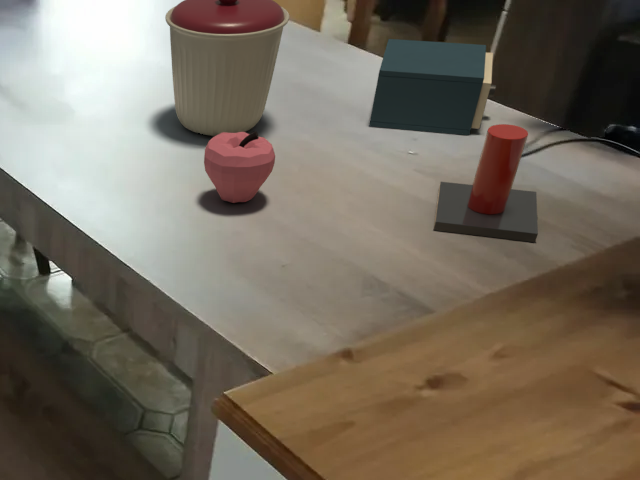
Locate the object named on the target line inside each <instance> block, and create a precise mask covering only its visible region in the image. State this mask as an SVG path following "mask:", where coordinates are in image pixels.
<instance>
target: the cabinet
mask: <svg viewBox="0 0 640 480" xmlns="http://www.w3.org/2000/svg"><path fill="white" fill-rule="evenodd" d="M486 52H487V44H476V43H475V44H474V43H462V42H461V43H459V42H447V41H446V42H442V41H428V40H413V39H412V40H411V39H397V38H396V39H395V38H394V39H393V38H388V40H387V43H386V47H385V50H384V54H383V57H382V61H381V63H380V67H379V71H378V75H377V81H376V88H375V91H374V92H375V93H374V97H373V103H372V108H371V112H370V119H369V124H368V127H372V128H373V127H375V128H384V129H394V130H395V129H396V130H404V131H405V130H406V131H415V132H427V133H428V132H429V133H439V134H449V135H450V134H451V135H459V136H470V133H471V129H472V128H471V126H472V122H473V119H474V115H475V111H476V107H477V103H478V100H479V96H480V92H481V88H482V84H483V81H484V73H485V57H486Z"/></svg>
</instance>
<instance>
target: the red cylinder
mask: <svg viewBox="0 0 640 480" xmlns="http://www.w3.org/2000/svg"><path fill="white" fill-rule="evenodd" d="M528 136H529V132H528V130H526V128H524V127H521V126H519V125H515V124H509V123H508V124H507V123H506V124H505V123H499V124H494V125H491V126H489V127H488V128H487V132H486V135H485V139H484V142H483V146H482V149H481V153H480V157H479V159H478V164H477V167H476V171H475V174H474V179H473V182H472V184H471V185H472V189H471V193H470V196H469V200H468V207H469V208H470V209H471V210H473V211H475V212H478V213H482V214H498V213H501V212H503V211H504V210H505V208H506V205H507V202H508V198H509V195H510V192H511V189H513V185H514V183H515V179H516V175H517V172H518V169H519V165H520V162H521V160H522V155H523V153H524V149H525V145H526V143H527V139H528Z"/></svg>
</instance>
